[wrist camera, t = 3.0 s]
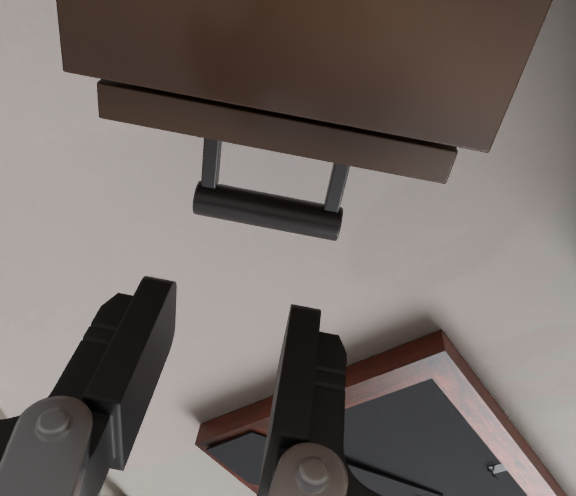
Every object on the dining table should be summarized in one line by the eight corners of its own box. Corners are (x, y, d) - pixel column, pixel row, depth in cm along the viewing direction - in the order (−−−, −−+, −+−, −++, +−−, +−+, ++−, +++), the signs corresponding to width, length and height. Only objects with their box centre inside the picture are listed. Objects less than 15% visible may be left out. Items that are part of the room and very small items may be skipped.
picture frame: (200, 424, 41) (372, 568, 52) (193, 447, 40) (372, 590, 50) (441, 329, 33) (588, 524, 43) (445, 354, 31) (596, 550, 42)
